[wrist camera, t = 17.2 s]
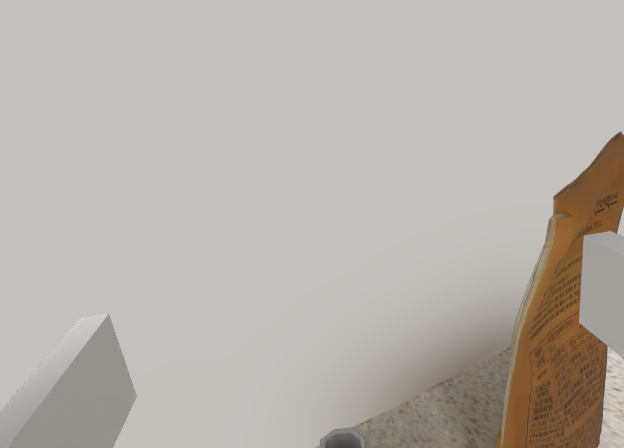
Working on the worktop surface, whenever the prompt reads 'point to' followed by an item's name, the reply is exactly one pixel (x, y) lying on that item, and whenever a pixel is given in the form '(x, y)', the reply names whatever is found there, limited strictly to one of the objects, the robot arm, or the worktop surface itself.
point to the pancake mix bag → (563, 321)
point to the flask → (343, 439)
